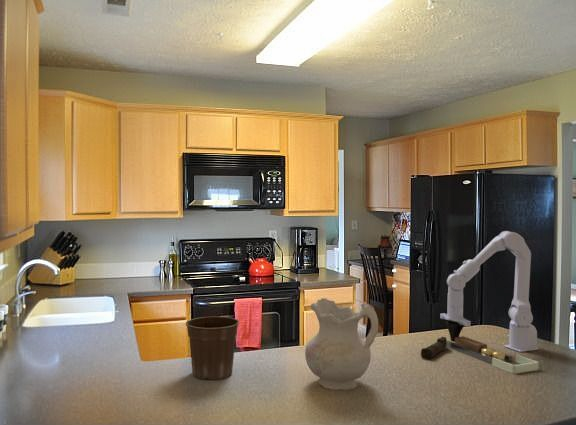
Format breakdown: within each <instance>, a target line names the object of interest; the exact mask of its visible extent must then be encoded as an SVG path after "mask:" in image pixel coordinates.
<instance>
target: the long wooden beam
mask: <svg viewBox="0 0 576 425" xmlns="http://www.w3.org/2000/svg"><path fill="white" fill-rule="evenodd" d="M454 343H455V344H458V345H461V346H464V347H466V348H469V349H472V350H474V351H477V352H480V353H481V348H487V347H488V344H486V343H484V342H481V341H478V340H475V339H472V338H469V337H466V336H464V335H462V336H459V337H455V342H454Z"/></svg>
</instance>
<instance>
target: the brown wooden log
mask: <svg viewBox="0 0 576 425" xmlns="http://www.w3.org/2000/svg"><path fill="white" fill-rule="evenodd" d="M446 341H448V340H447V337H445V336H441V337H439V338H437V340H436V342H434V343H432V344H430V345H428V346H427V347H424V348H421V351H420V357H421V358H422V359H425V360H431V359H433V357H434V356H435V355H437V354H439V353H440V352H442V353H443V352H444V351H446V349H447V347H446V344H447V343H446Z"/></svg>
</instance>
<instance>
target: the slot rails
mask: <svg viewBox="0 0 576 425" xmlns="http://www.w3.org/2000/svg"><path fill="white" fill-rule="evenodd" d="M446 343H447V344H446V348H450V349H452V350H454V351H457V352H459V353H461V354H465V355H468V356H470V357H473V358H475V359H478V360H481V361H484V362H486V363H489V364H490V365H492V358H493V357H491V356H488V355H485V354H483V353H480V352H477V351H474V350H472V349H469V348H466V347H464V346H461V345H458V344H455V342H453V341H451V340H447V341H446ZM487 348H489V347H488V346H487ZM493 350H494V351H497V350H496V349H493ZM505 362H507V363H510V362H513V356H512V355H510V354H508V353H505Z"/></svg>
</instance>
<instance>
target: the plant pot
mask: <svg viewBox="0 0 576 425" xmlns="http://www.w3.org/2000/svg"><path fill="white" fill-rule="evenodd" d="M239 324H240V320H239V319H237V318H233V317H230V316H201V317H196V318H192V319H189V320H187V321H186V322H185V326H186V328H187V335H188V338H189V346H190V347H189V348H190V359H191V360H190V362H191V370H192V372H191V374H192V376H193V377H195V378H197V379H199V380H205V379H209V380H211V381H215V380H222V379H225V378H226V379H227V378H228V377H229V376H231V375H232V374H233V370H234V369H233V368H234V356H235V346H236V336H237V334H238V327H239Z"/></svg>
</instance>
